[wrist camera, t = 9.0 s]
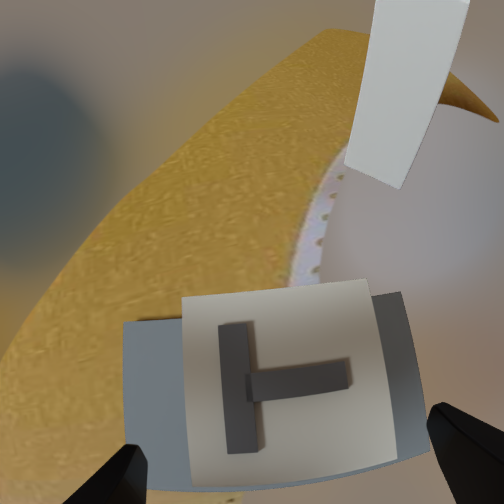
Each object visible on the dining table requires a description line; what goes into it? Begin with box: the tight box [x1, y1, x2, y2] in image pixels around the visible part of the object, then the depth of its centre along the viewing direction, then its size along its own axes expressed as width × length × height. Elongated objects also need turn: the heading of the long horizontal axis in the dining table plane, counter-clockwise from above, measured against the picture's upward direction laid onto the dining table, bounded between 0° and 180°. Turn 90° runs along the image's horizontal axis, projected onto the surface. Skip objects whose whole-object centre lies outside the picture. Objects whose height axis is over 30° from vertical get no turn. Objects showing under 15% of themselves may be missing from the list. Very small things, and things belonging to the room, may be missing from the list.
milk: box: [344, 0, 470, 190], centre depth 19 cm, size 6×6×22 cm
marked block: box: [182, 278, 397, 487], centre depth 12 cm, size 5×5×13 cm
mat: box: [123, 292, 430, 492], centre depth 18 cm, size 12×20×1 cm, turn 96°
